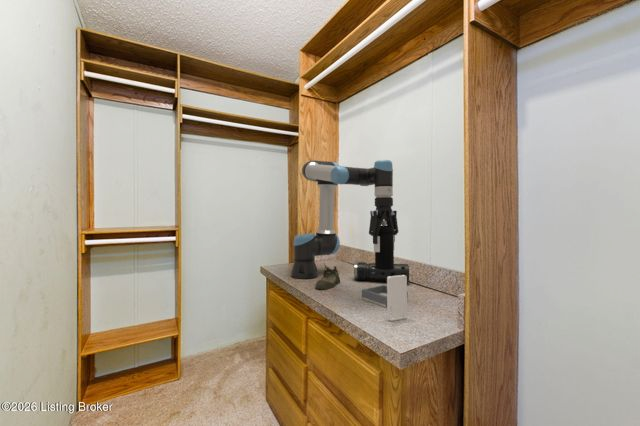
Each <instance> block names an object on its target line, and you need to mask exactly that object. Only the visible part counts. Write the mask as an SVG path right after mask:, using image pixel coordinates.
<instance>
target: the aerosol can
mask: <svg viewBox="0 0 640 426" xmlns="http://www.w3.org/2000/svg"><path fill="white" fill-rule="evenodd" d="M378 236H380V252H374V263H375V268H376V269H380V270H392V269H394V264H395V263H394V261H395V259H394V258H395V257H394V256H395V253H394V251H395V242H394V230H393V229H392V228H390V227H388V226H387V224H386V221H385V220H383V221H382V224H381V228H380V231H379V234H378Z"/></svg>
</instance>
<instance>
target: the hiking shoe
mask: <svg viewBox="0 0 640 426" xmlns="http://www.w3.org/2000/svg"><path fill="white" fill-rule="evenodd" d="M323 264H324V268H323V269H324V270H323V274H322V276H321V278H320V279H318V280H317V281H316V283H315V285H314V288H315V289H316V290H324V291H326V290H331V289H334V288H335V287H336V286H337V285H338V284H340V283H341V279H340V275H339V270H338V269H337V266H333V269H332V268H330V267H328V266H327V265H326V264H325V262H323Z"/></svg>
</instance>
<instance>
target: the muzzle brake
mask: <svg viewBox="0 0 640 426" xmlns="http://www.w3.org/2000/svg"><path fill="white" fill-rule="evenodd" d="M398 275H405V276H406V277H407V284H409V282H410V266H409V264H408V263H394V269H392V270H380V269H376V268H375V262H369V263H367V262H365V261H364V262H363V261H361V262H360V261H359V262H357V263H354V264H353V278H354V279H355V280H357V281H367V282H385V283H387V277H389V276H398Z"/></svg>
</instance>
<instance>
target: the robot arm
mask: <svg viewBox="0 0 640 426" xmlns="http://www.w3.org/2000/svg"><path fill="white" fill-rule="evenodd" d="M373 165H374V166H373V167H370V168H368V167H367V168H365V167H364V168H363V167H351V166H343V165H342V166H341V165H340V164H339V163H338V162H334V161H325V160H309V161H307V162H305V163H304V164H303V166H302V168H301V174H302V176H303V177H304V179H305V180H308V181H310V182H317V184H316V185H317V186H318V187H319V208H318V209H319V213H318V215H319V216H318V229H317V230H316V231H315V233H314V232H311V233H302V234H297V235H294V238H293V264H292V268H291V270H290V271H291V272H290V277H292V278H294V279H313V278H316V277H318V275H319V271H318V268H317V265H316V261H315V257H317V256H319V257H320V256H330V255H335V254H336V253H337V252H338V251H339V249H340V244H341V241H340V238H339V236H338V234H337V232H336V231H335V230H334V223H335V221H334V219H335V193H336V192H335V189H336V188H337V187H338V185H356V186H361V187H369V186H373V185H374V206H375V207H376V208H375V210H370V220H369V222H370V223H369V230H368V234H369V235H370V236H371V237H372V244H373V252H374V253H375V252H380V236H378V234H379V231H380V228H381V226H382V221H386V226H388V227H390V228H392V229H393V230H394V243H395V242H396V236H398V235H397V234H398V233H399V227H398V219H397V216H398V215H397V213H398V212H397V210H393V209H392V207H393V206H394V199H393V193H394V192H393V191H394V189H393V187H394V184H393V183H394V181H393V179H394V177H393V174H394V173H393V171H394V169H393V162H392V160H389V159H378V160H376V161H374V163H373Z"/></svg>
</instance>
